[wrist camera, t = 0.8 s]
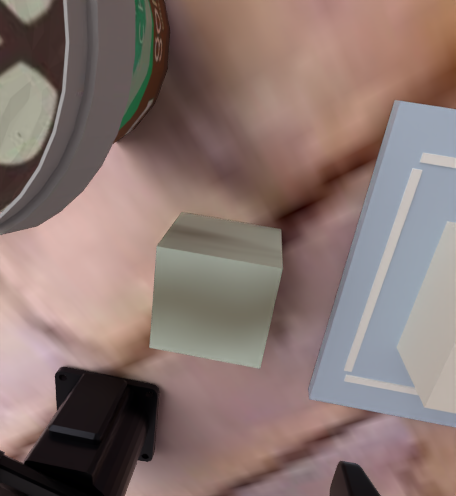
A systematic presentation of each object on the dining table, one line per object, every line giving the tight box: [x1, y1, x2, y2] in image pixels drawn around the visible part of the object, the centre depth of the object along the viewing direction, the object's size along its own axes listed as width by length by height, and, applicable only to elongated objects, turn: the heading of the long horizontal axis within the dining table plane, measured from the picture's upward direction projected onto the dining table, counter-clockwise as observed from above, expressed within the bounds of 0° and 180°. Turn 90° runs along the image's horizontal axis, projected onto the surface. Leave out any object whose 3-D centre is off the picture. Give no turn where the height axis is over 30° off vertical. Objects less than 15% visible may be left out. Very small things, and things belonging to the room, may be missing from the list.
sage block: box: [150, 212, 283, 369], centre depth 18 cm, size 5×5×4 cm
